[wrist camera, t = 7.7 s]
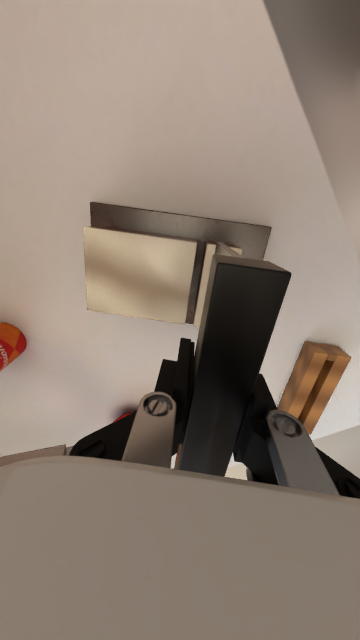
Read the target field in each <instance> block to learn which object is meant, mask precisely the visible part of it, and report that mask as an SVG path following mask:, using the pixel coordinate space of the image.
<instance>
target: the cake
mask: <svg viewBox="0 0 360 640" xmlns="http://www.w3.org/2000/svg"><path fill="white" fill-rule="evenodd" d="M90 213H91V227H83V233H84V254H85V275H86V296H87V310H91V311H98V312H105V313H111V314H118V315H125V316H131V317H138V318H145V319H152V320H158V321H165V322H172V323H178V324H185V323H189V324H194V307H195V301H196V295H197V289H198V283H199V277H200V271H201V265H202V259H203V253H204V247H205V241H213V242H222V243H227V244H233V245H235V246H237V247H239V248H241V249H242V253H241V255H242V256H243V257H245V258H247V259H254V260H261V261H263V257H264V253H265V250H266V246H267V242H268V239H269V235H270V231H271V227H268V226H260V225H253V224H246V223H239V222H232V221H224V220H217V219H210V218H203V217H196V216H188V215H181V214H174V213H167V212H160V211H152V210H145V209H138V208H131V207H124V206H116V205H109V204H102V203H95V202H90Z"/></svg>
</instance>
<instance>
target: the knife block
mask: <svg viewBox="0 0 360 640" xmlns="http://www.w3.org/2000/svg"><path fill="white" fill-rule="evenodd" d="M350 359H351V357H350V356H349V355H348V354H347V353H345V352H344V351H343V350H342V349H341V348H340V347H338V346H332V345H325V344H318V343H312V342H305V343H304V345H303V347H302V350H301V352H300V355H299V357H298V360H297V362H296V364H295V367H294V369H293V372H292V374H291V377H290V379H289V382H288V384H287V386H286V389H285V391H284V394H283V396H282V399H281V401H280V403H279V406H278V408H277V409H278V410H281V411H285V412H287V413H290V414H292V415H293V416H294V417H296V418H297V419H298V420H299V421H300V422H301V423H302V424H303V426H304V427H305V429H306V431H307V433H308V434H311V433H312V431H313V429H314V427H315V426H316V424H317V422H318V420H319V418H320V416H321V414H322V412H323V410H324V408H325V407H326V405H327V403H328V401H329V399H330V397H331V395H332V393H333V391H334V389H335V388H336V386H337V384H338V382H339V380H340V378H341V376H342V374H343V372H344V370H345V369H346V367H347V365H348V363H349V361H350Z"/></svg>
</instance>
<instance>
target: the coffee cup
mask: <svg viewBox="0 0 360 640" xmlns="http://www.w3.org/2000/svg"><path fill="white" fill-rule="evenodd" d="M25 348H26V339H25V337H24V335H23V334H22V332H21V331H20V330H19V329H17V328H16V327H15V326H13V325H10V324H7V323H0V371H1V370H2V369H3V368H5V367H6V366H7V365H8V364H9V363H11V362H12V361H13V360H14V359H15V358H17V357H18V356H19V355H20V354H21V353H22V352H23V351H24V350H25Z"/></svg>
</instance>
